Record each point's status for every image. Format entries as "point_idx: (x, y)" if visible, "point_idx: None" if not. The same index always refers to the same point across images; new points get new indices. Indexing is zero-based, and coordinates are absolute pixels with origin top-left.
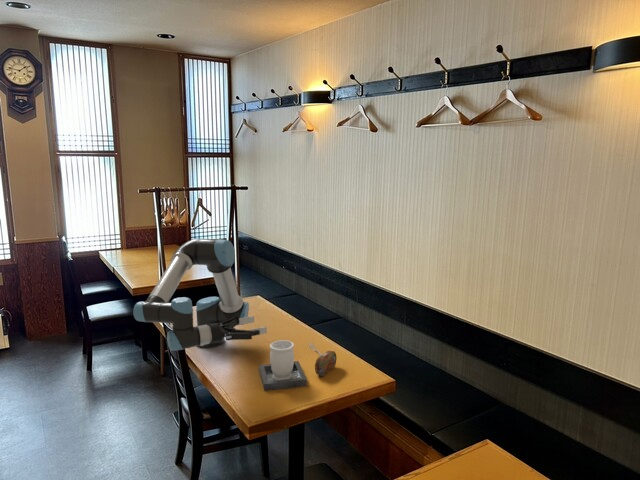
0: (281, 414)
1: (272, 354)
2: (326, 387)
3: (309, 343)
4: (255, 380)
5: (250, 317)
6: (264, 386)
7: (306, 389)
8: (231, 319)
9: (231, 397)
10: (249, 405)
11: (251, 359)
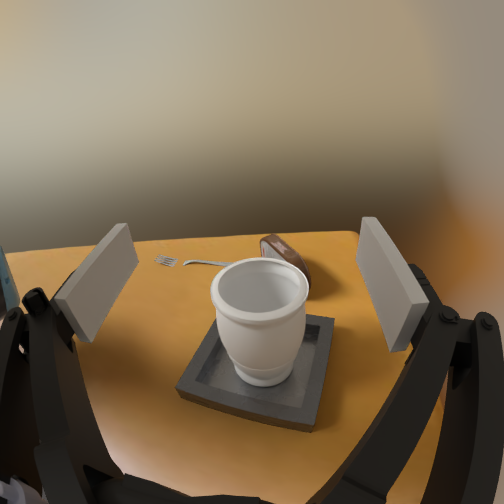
0: (442, 413)
1: (268, 337)
2: (352, 302)
3: (157, 258)
4: (228, 431)
5: (114, 241)
6: (312, 426)
7: (347, 336)
8: (11, 348)
9: None
10: None
11: (107, 376)
